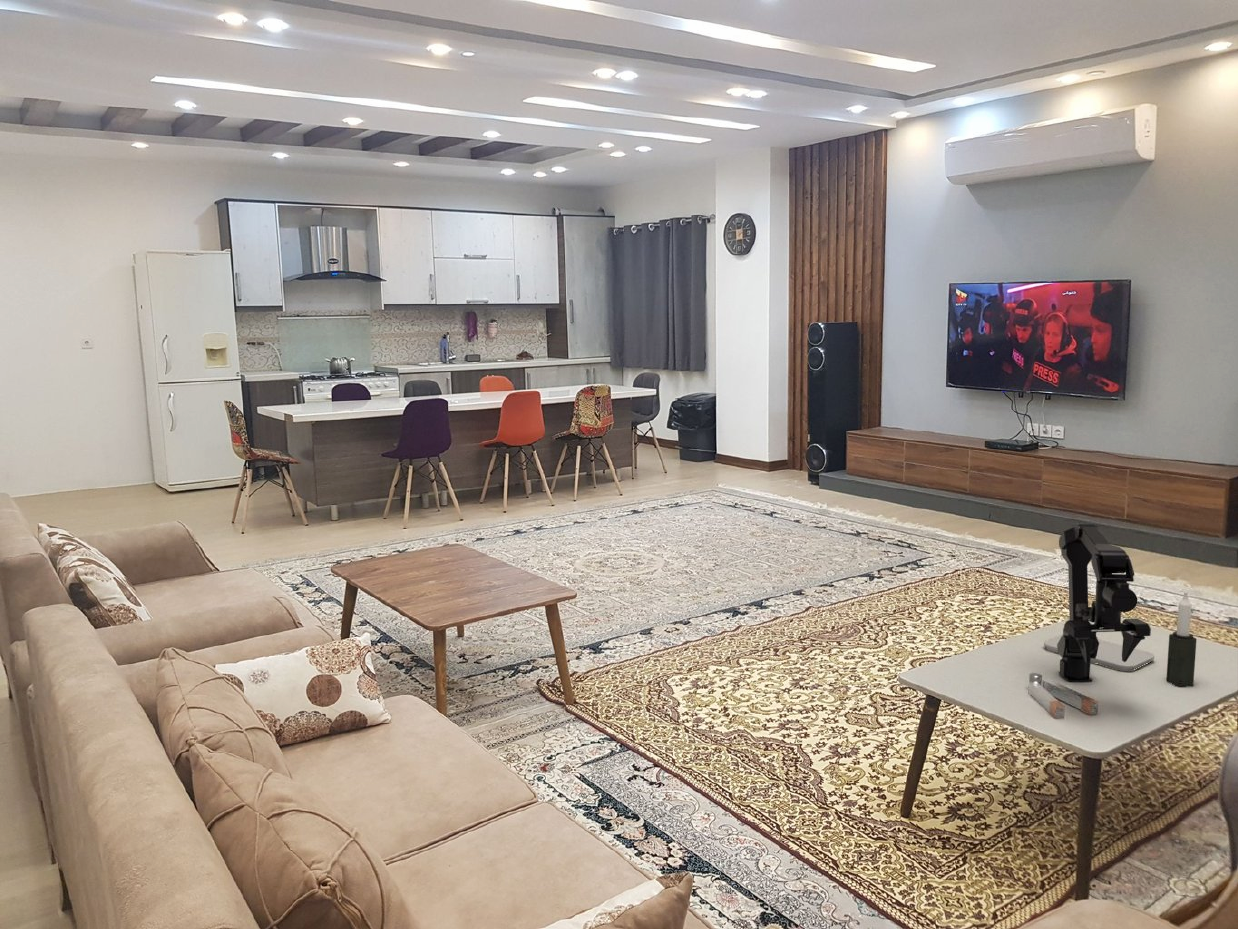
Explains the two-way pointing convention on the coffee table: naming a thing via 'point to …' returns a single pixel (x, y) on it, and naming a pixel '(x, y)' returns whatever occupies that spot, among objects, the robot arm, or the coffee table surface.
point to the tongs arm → (1071, 697)
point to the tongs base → (1045, 696)
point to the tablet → (1110, 655)
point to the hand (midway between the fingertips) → (1105, 662)
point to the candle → (1182, 648)
